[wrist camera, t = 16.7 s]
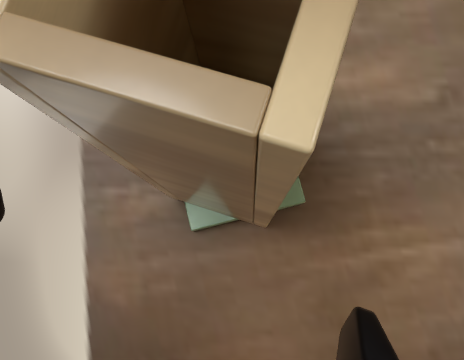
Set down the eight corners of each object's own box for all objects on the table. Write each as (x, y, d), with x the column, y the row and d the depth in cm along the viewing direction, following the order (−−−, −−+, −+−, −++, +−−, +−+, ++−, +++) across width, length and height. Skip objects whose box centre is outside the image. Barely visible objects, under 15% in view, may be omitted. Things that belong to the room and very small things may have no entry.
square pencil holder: (266, 228, 16) (313, 155, 4) (168, 196, 17) (-68, 40, 4) (298, 123, 17) (424, -216, 5) (204, 95, 17) (90, -280, 5)
